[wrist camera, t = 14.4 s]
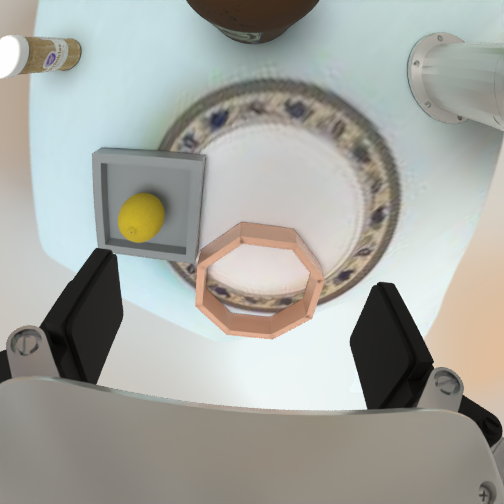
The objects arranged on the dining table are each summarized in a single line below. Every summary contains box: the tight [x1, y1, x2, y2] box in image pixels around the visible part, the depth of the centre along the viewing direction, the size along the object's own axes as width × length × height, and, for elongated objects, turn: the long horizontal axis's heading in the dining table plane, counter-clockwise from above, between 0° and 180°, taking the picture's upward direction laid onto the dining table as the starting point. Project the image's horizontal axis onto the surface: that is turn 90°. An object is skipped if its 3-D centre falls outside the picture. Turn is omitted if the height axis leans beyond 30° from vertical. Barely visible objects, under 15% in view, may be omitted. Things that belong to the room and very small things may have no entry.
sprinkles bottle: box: [0, 35, 81, 78], centre depth 25 cm, size 5×5×13 cm
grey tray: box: [92, 148, 206, 264], centre depth 40 cm, size 14×14×3 cm
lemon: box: [118, 193, 165, 243], centre depth 37 cm, size 6×6×8 cm
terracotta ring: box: [195, 222, 325, 339], centre depth 46 cm, size 17×17×4 cm
